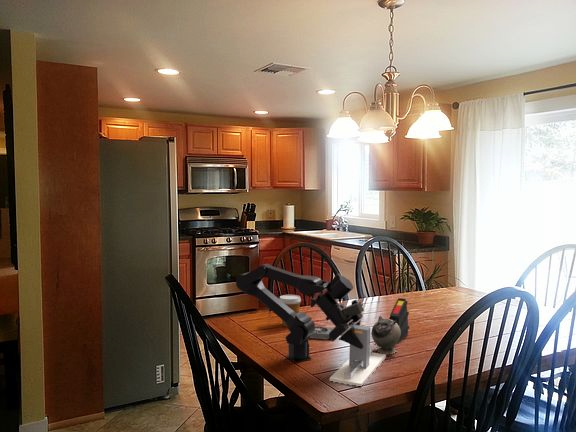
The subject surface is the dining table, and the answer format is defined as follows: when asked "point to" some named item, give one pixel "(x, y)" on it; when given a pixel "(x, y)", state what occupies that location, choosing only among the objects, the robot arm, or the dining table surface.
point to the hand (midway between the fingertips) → (364, 346)
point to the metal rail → (355, 367)
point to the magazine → (401, 316)
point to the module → (363, 353)
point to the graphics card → (321, 332)
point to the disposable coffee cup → (291, 303)
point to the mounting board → (361, 374)
